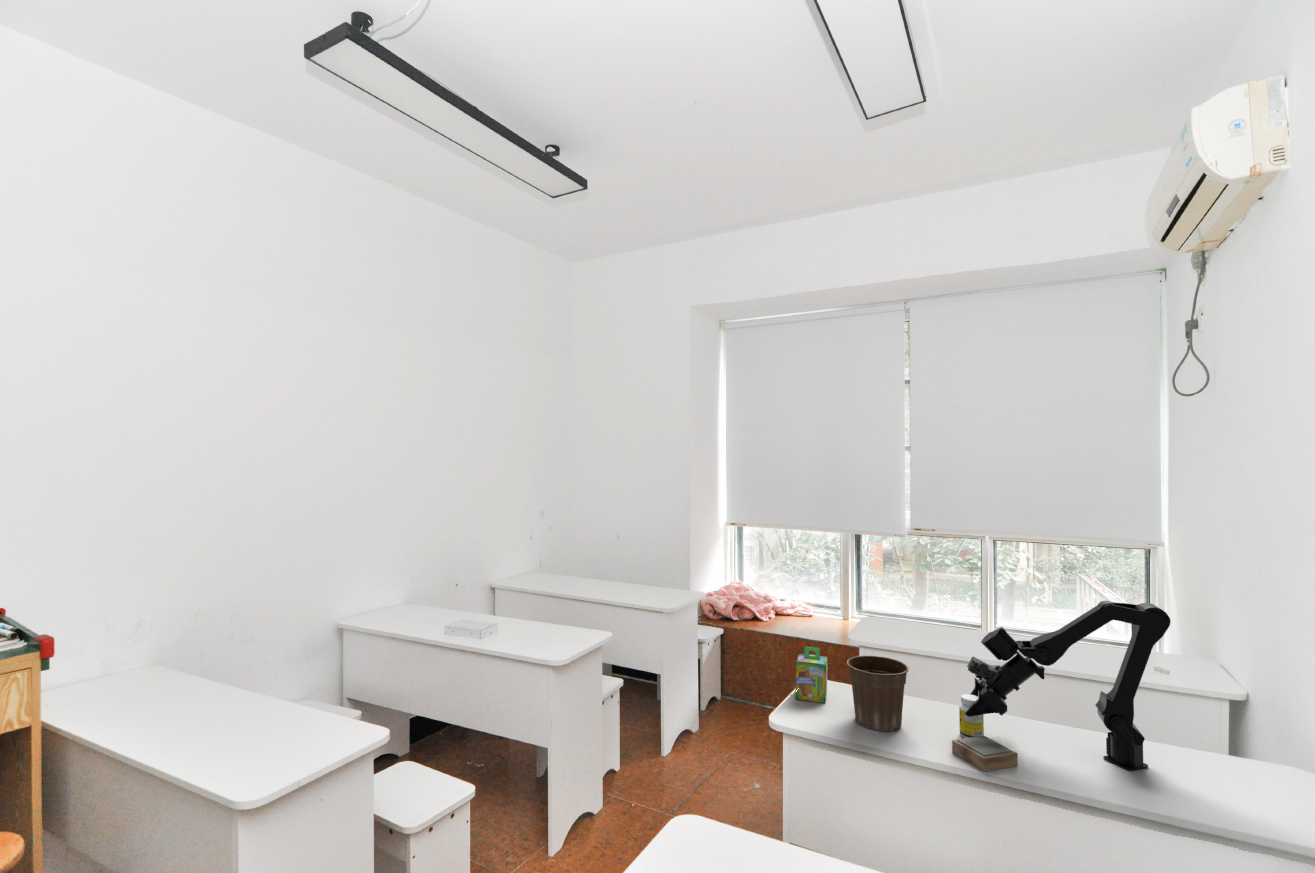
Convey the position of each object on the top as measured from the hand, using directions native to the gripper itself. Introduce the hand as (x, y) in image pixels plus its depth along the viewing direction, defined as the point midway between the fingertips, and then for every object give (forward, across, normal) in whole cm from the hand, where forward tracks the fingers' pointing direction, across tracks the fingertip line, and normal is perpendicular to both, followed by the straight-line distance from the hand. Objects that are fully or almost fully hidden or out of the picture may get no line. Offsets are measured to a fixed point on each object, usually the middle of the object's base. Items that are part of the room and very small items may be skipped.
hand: (965, 710), depth 162 cm
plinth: (+2, +13, +7) cm, 15 cm away
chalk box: (+34, -11, -25) cm, 44 cm away
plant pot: (+20, +1, -11) cm, 23 cm away
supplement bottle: (+4, 0, +6) cm, 7 cm away
